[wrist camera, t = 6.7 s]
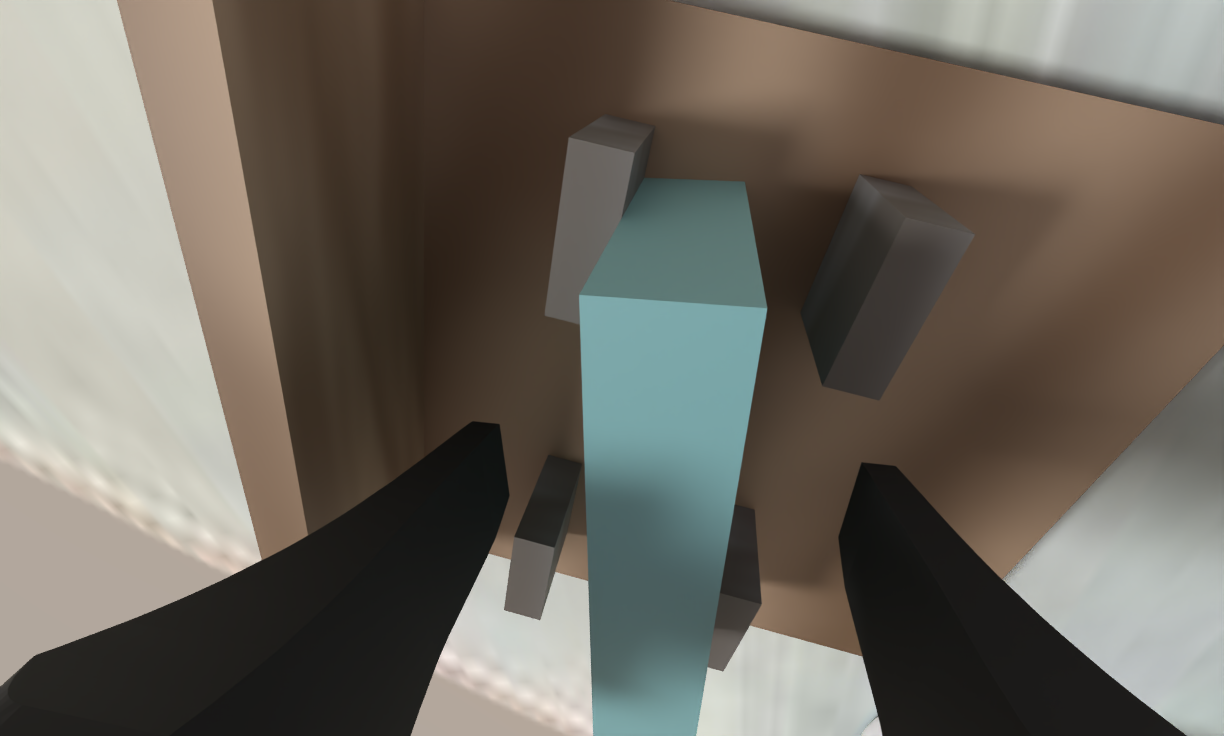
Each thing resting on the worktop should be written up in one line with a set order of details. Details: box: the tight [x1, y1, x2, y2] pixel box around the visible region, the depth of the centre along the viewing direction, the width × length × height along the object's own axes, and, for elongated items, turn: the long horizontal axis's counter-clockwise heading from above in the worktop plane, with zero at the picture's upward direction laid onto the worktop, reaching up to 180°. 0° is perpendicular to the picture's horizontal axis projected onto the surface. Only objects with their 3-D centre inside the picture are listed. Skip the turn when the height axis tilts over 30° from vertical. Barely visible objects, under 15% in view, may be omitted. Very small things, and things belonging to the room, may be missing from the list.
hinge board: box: [117, 0, 1224, 671], centre depth 12 cm, size 18×16×6 cm
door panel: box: [579, 178, 767, 736], centre depth 11 cm, size 2×10×6 cm, turn 0°
